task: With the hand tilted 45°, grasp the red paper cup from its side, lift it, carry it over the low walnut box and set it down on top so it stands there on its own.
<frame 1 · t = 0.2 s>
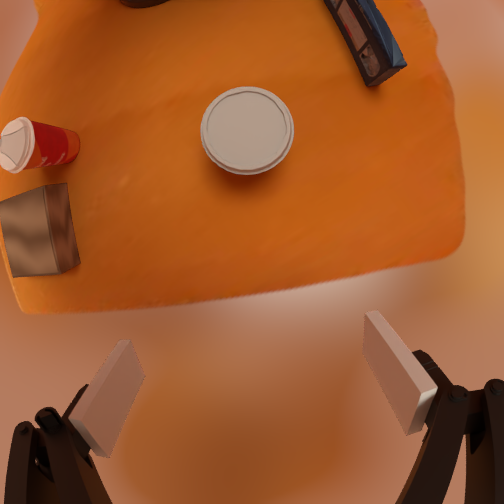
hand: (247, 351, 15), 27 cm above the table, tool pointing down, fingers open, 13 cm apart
paper cup: (68, 147, 38), on the table
walnut box: (46, 228, 41), on the table
vhs cassette tape: (349, 37, 32), on the table
disposable coffee cup: (250, 141, 38), on the table
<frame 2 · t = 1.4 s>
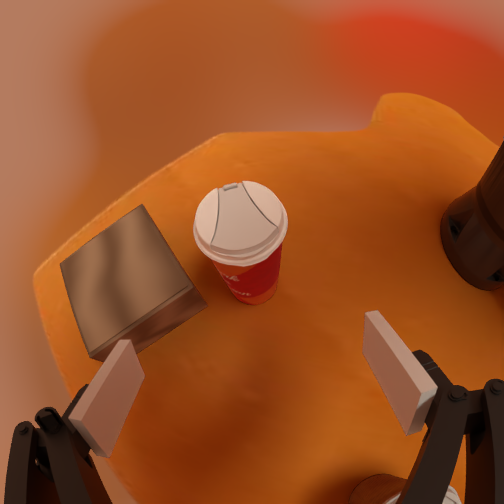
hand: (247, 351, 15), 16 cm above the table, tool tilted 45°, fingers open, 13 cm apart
paper cup: (254, 284, 34), on the table
walnut box: (136, 293, 35), on the table
disposable coffee cup: (375, 496, 20), on the table
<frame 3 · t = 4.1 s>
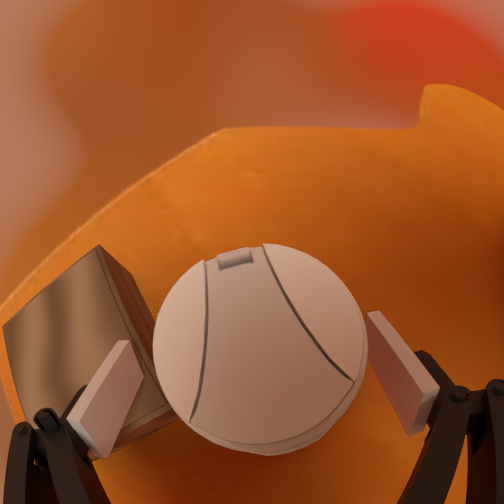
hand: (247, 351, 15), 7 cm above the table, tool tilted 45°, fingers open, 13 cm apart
paper cup: (274, 372, 21), on the table
walnut box: (104, 371, 22), on the table
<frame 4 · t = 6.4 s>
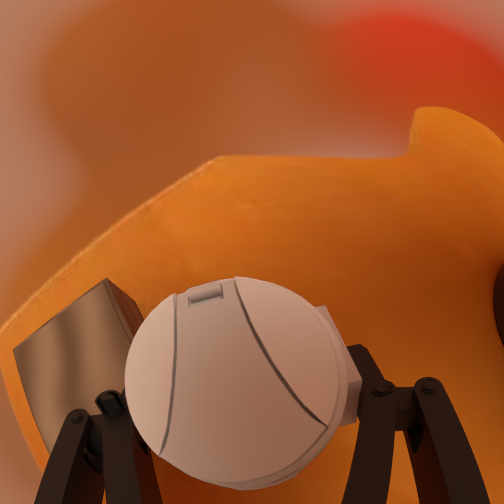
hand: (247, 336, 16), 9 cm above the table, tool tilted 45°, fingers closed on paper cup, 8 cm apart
paper cup: (268, 393, 20), point 3 cm above the table, touching gripper
walnut box: (112, 391, 23), on the table
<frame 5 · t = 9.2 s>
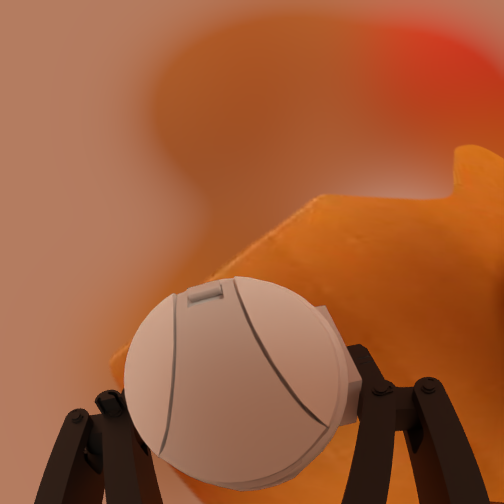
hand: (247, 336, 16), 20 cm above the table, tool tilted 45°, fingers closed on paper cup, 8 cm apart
paper cup: (268, 393, 20), point 14 cm above the table, touching gripper
when the fingers open (12 cm above the table, at t = 12.3 s): paper cup stays where it is, resting on walnut box.
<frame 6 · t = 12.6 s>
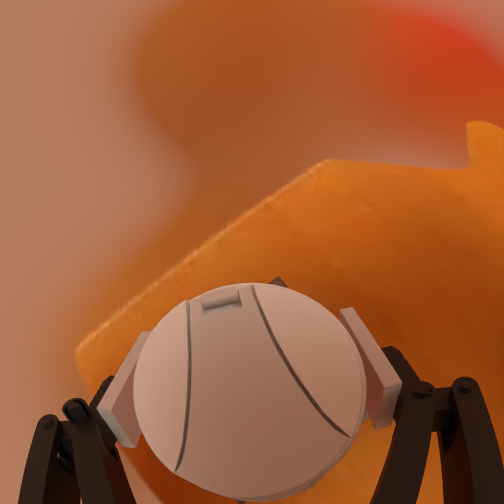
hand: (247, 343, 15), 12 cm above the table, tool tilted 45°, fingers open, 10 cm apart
paper cup: (267, 394, 20), point 6 cm above the table, touching walnut box
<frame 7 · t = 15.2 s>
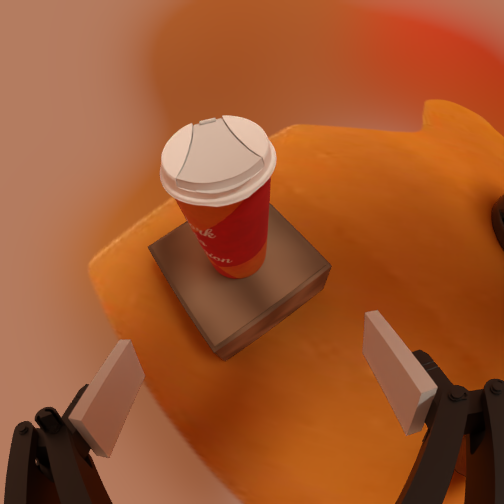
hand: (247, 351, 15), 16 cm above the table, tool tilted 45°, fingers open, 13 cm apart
paper cup: (238, 255, 29), point 6 cm above the table, touching walnut box
walnut box: (240, 279, 34), on the table
disposable coffee cup: (470, 451, 20), on the table
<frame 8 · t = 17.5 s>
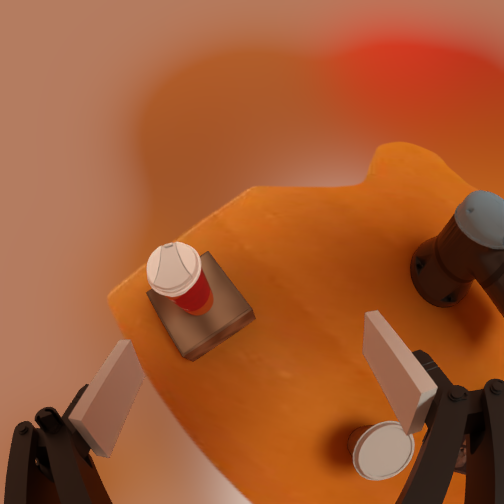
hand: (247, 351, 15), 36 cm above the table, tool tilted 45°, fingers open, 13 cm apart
paper cup: (198, 301, 48), point 6 cm above the table, touching walnut box
walnut box: (204, 311, 53), on the table
vhs cassette tape: (468, 429, 35), on the table
disposable coffee cup: (364, 441, 38), on the table
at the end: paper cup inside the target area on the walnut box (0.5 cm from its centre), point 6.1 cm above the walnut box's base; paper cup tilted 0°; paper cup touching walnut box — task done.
